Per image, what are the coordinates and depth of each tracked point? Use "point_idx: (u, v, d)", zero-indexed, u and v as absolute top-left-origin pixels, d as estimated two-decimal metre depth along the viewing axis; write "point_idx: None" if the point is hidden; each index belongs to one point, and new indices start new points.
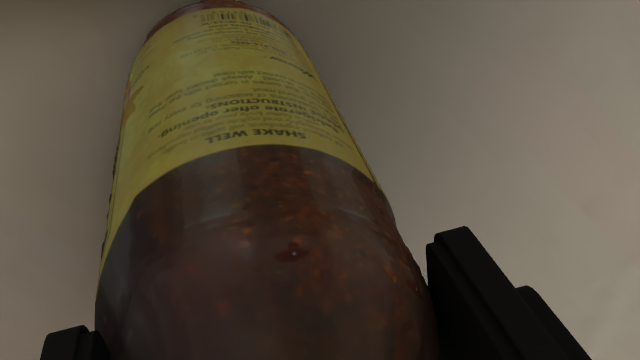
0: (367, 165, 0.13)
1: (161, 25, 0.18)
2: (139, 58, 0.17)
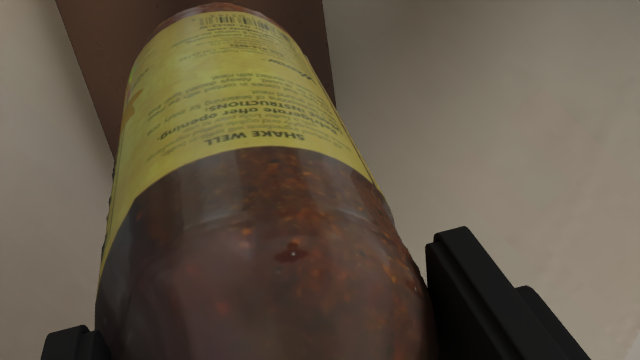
0: (366, 166, 0.13)
1: (160, 29, 0.18)
2: (138, 62, 0.17)
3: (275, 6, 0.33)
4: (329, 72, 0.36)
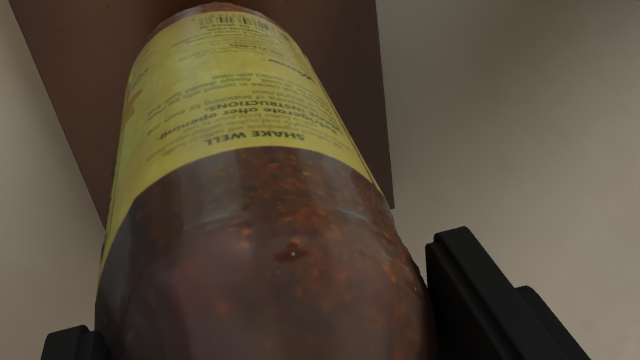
0: (366, 166, 0.13)
1: (160, 29, 0.18)
2: (138, 62, 0.17)
3: (323, 80, 0.26)
4: (387, 155, 0.29)
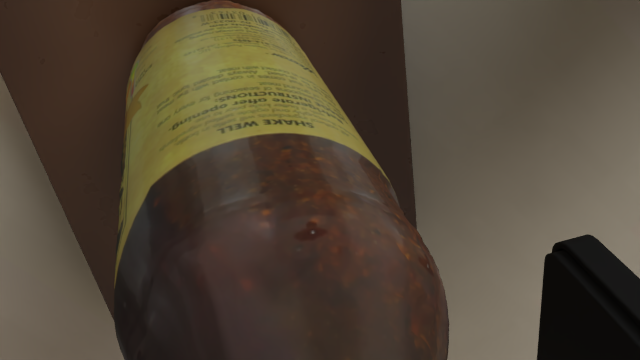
0: (371, 154, 0.13)
1: (160, 26, 0.19)
2: (140, 58, 0.17)
3: None
4: (411, 194, 0.26)
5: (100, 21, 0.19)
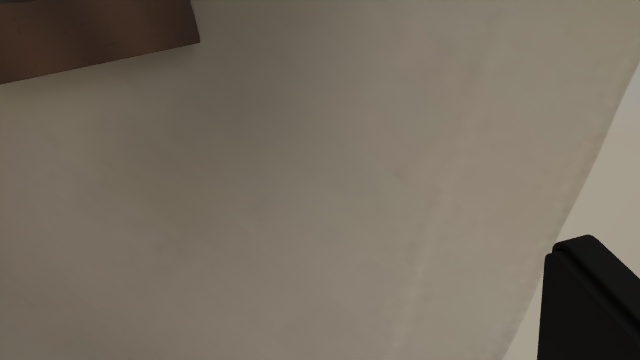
0: None
1: None
2: None
3: None
4: None
5: None
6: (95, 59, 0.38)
